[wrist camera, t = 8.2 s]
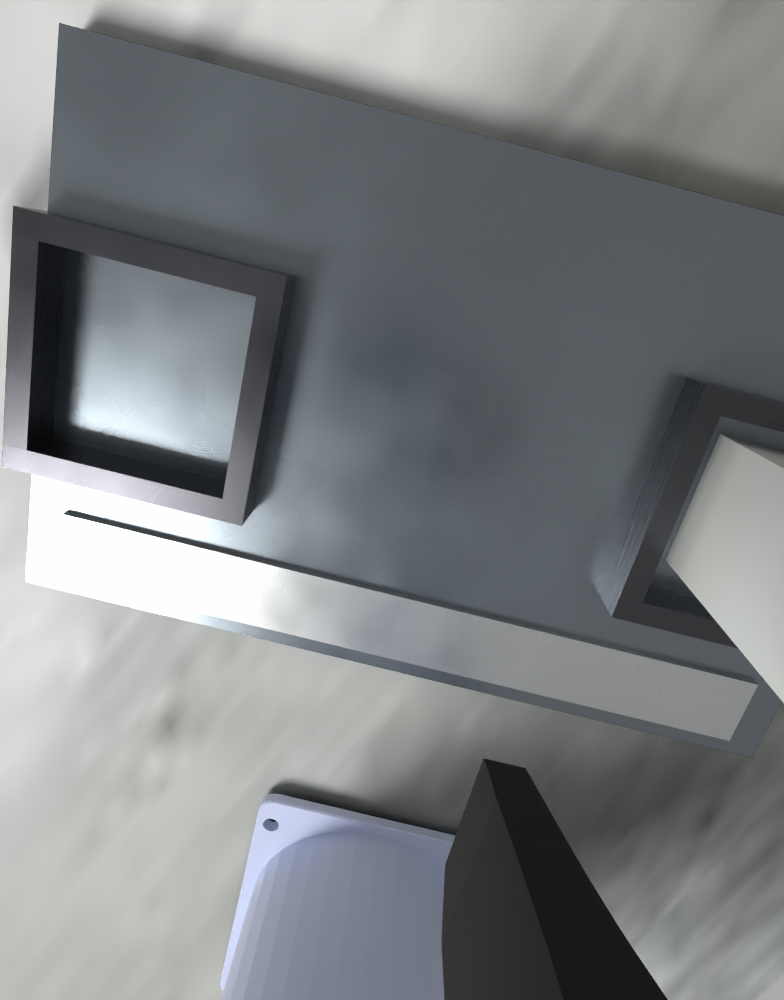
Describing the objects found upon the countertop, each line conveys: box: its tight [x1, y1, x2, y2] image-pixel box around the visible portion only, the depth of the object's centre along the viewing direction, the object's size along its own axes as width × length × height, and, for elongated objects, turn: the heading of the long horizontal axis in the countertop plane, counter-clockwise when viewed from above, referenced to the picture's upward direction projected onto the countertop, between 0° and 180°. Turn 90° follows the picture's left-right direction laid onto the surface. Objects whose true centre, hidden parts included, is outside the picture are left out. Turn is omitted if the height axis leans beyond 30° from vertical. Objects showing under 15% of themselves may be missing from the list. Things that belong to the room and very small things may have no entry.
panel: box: [2, 23, 784, 757], centre depth 17 cm, size 14×22×2 cm, turn 76°
